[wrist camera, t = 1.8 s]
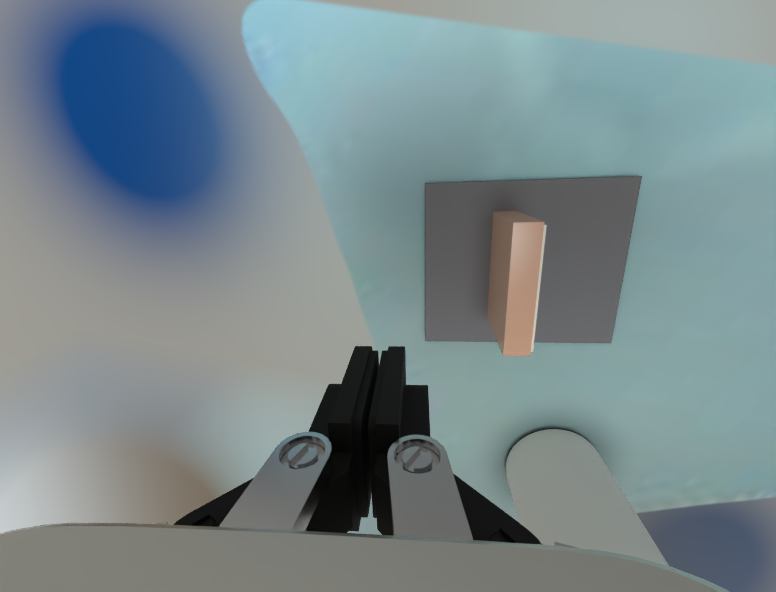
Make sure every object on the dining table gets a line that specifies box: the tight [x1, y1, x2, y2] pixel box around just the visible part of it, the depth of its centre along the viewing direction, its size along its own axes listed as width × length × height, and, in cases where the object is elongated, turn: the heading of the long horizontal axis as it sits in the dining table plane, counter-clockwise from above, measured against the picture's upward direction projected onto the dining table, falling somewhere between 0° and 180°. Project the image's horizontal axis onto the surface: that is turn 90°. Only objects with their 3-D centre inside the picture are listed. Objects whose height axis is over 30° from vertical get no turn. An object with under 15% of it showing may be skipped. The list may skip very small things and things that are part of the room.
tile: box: [487, 211, 547, 356], centre depth 23 cm, size 2×8×6 cm, turn 2°
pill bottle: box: [506, 429, 668, 566], centre depth 25 cm, size 8×8×15 cm
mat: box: [425, 176, 642, 343], centre depth 26 cm, size 14×12×1 cm
